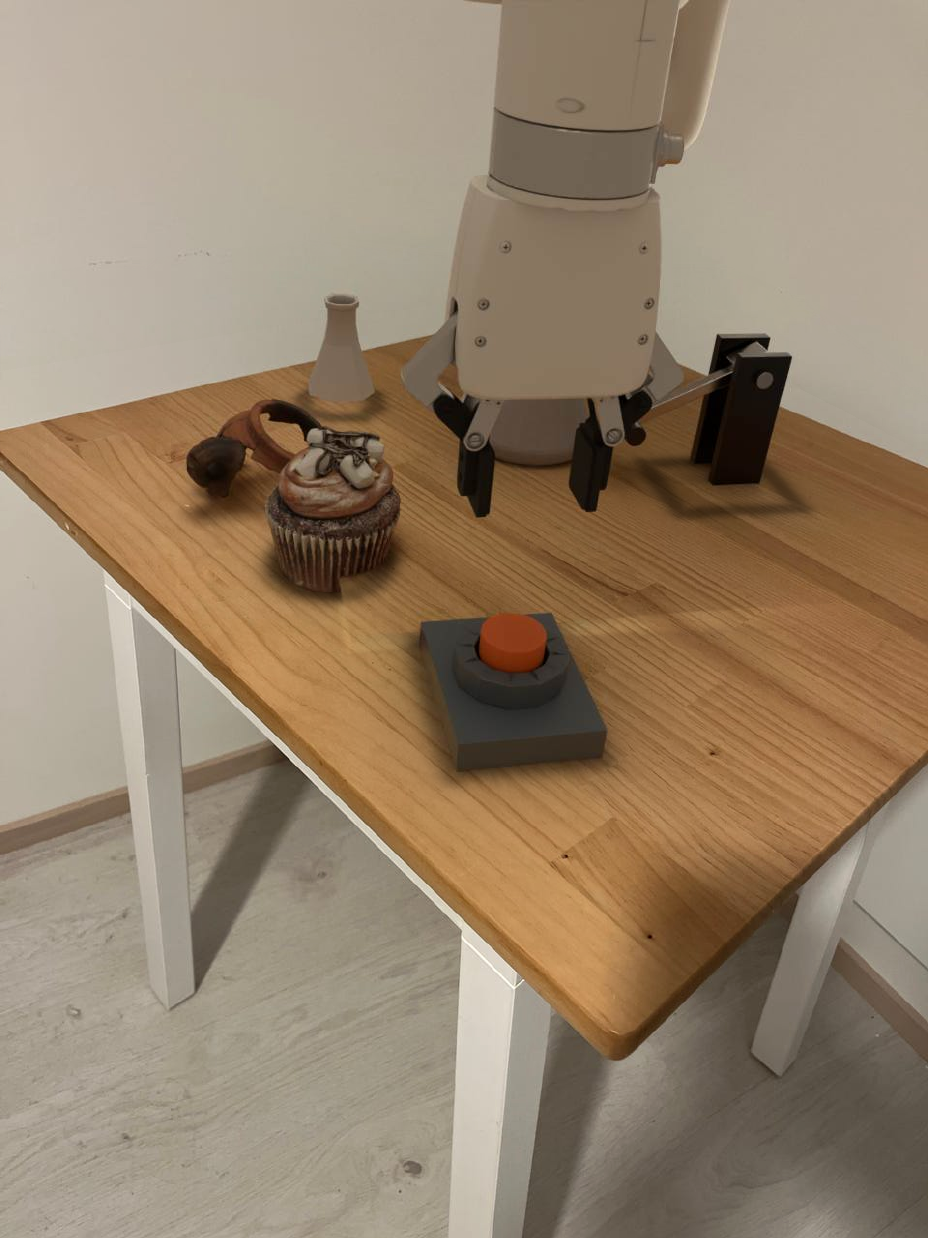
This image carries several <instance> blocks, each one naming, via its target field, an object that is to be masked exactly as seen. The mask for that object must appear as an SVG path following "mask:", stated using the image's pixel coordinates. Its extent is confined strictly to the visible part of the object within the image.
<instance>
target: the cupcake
mask: <svg viewBox="0 0 928 1238" xmlns="http://www.w3.org/2000/svg"><path fill="white" fill-rule="evenodd" d="M380 439H381V437H380V436H379V435H377V434H375V433H372V432H366V431H357V430H347V431H339V430H335V429H333V428H331V427H329V426H327V425H322V426H321V427H320V428H319V429H315V428H314V429H312V430H310V432H309V433H308V436H307V442H306V444H307V445H308V446H307V447H305V448H303V449H302V450H299V451H298V452H297V453H295V456H293V457H292V458H291V460H290V462H288V463H287V465H286V466H285V467H284V468H283V470H282V471H281V473H280V474H278V475H279V476H278V481H277V486H275V488H274V489H273V490H272V491H271V492H270V494H267V499H265V501H266V503H264V504H263V505H264V508H265V509H264V513H265V518H266V520H267V523H268V527H269V529H270V534H271V537H272V542H273V545H274V549H275V553H276V556H277V561H278V565H279V569H280V572H281V573H282V575H283V576H285V578H286V579H287V580H288V581H289V582H292V583H293V584H294V585H295V586H296V585H297V586H298V587H302V588H306V589H307V590H311V591H315V592H322V593H333V592H338V593H340V592H341V593H342V588H341V587H342V586H341V583H340V580H339V579H340V578H341V577H345V578H348V577H349V576H356V575H357V574H361V575H362V574H364V573H365V572H370V569H375V568H376V566H378V565H380V564H381V563H382V562H384V559H386V558H387V557H388V553H389V551H390V550H389V549H390V546H391V543H392V540H393V535H394V533H395V531H396V528H397V526H398V524H399V523H398V522H399V521H400V517H401V503H402V499H401V496H400V493H399V491H398V490H397V489H396V487H395V485H394V483H393V481H394V470H393V468H392V466H391V465H390V464H389V463H388V462H387V461H386V460H385V458H383V456H384V452H385V445H384V444H383V443H382V442H381V441H380Z"/></svg>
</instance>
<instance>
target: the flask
mask: <svg viewBox="0 0 928 1238" xmlns="http://www.w3.org/2000/svg"><path fill="white" fill-rule="evenodd" d="M323 301H324V306H325V308H326V309H327V315H326V316H327V318H326V319H327V321H326V325H325V330H324V336H323V340H322V343H321V346H320V349H319V351H318V355H317V357H316V360H315V364H314V366H313V369H312V372H311V374H310V377H309V380H308V383H307V389H308V394H309V396H311V397H314V398H317V399H321V400H325V401H329V402H331V403H360V402H363V401H365V400H366V399H367V398H369V397H370V396H372V395H373V394H375V393H376V391H375V388H374V385H373V380H372V378H371V376H370V372H369V369H368V367H367V364H366V361H365V357H364V354H363V351H362V348H361V345H360V341H359V334H358V328H357V309H359V306H360V299H359V296H358V295H353V294H350V293H349V294H348V293H330V294H328V295H326V296H324V297H323Z"/></svg>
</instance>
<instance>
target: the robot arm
mask: <svg viewBox="0 0 928 1238" xmlns="http://www.w3.org/2000/svg"><path fill="white" fill-rule="evenodd" d="M464 1H465V2H469V3H470V2H471V3H479V4H480V3H481V4H491V5H501V8H500V23H499V34H498V35H499V36H498V47H497V48H498V49H497V60H496V72H495V73H496V75H495V84H494V85H495V87H494V96H493V97H494V98H493V108H492V122H491V134H490V146H489V147H490V148H489V161H488V173H487V174H483V175H482V174H481V175H475V176H474V177H472V178H470V181H469V184H468V187H467V191H466V193H465V197H464V202H463V205H462V208H461V209H462V210H461V215H460V218H459V223H458V229H457V234H456V240H455V244H454V249H453V256H452V263H451V269H450V275H449V282H448V283H449V284H448V291H447V298H446V305H445V312H444V313H445V314H444V323H443V324H442V326H441V327H439V329H437V331H436V332H435V333H434V334H433V335H432V336H431V337H430V338H429V339H428V340H427V342H425V344H424V345H423V346H422V347H421V348H420V349H419V350H418V351H417V352H416V353H415V354H414V355H413V356H412V357H411V358H410V360H409V361H408V362H407V363H406V364H405V365H403V367H402V368H401V370H400V373H399V377H400V380H401V383H402V385H403V388H404V390H405V391H406V392H408V393H409V394H410V395H411V396H412V397H413V398H414V399H416V400H417V401H418V402H419V403H421V404H422V405H423V406H424V407H425V408H426V409H428V410H430V411H431V412H432V413H433V414H435V416H436V418H437V419H438V420H439V421H440V422H442V423H443V424H444V425H445V427H446V428H447V429H448V430H450V432H452V433H453V434H454V435H455V436H456V437H457V439H459V446H458V458H457V460H458V461H457V473H456V486H457V491H458V494H459V496H460V497H467V500H468V503H469V505H470V507H471V509H472V511H473V514H474V516H475V518H486V517H487V515H490V513H491V505H492V496H493V485H494V474H495V464H496V458H495V452H494V450H493V448H492V446H491V444H490V434H491V432H492V429H493V427H494V425H495V423H496V421H497V418H498V416H499V414H500V412H501V409H502V407H503V405H504V403H505V400H530V399H570V398H584V401H585V406H586V411H587V416H588V418H587V419H586V420H585V423H580V425H579V428H577V429H576V435H575V441H574V448H573V455H572V460H571V462H570V470H569V475H568V488H569V490H570V492H571V493H572V495H573V497H574V499H575V500H576V501H577V503H578V506H579V507H580V509H581V510H582V511H584V512H585V513H596V512H597V510H598V505H599V498H600V491H605V490H606V489H607V486H608V483H609V482H608V481H609V475H610V470H611V465H612V457H613V452H614V447H617V446H619V445H621V443H623V441H624V440H625V439H624V436H625V431H627V430H628V429H629V428H630V427H631V426H632V425H634V424H635V423H636V422H637V421H638V420H639V419H641V418H642V417H643V416H644V415H645V414H646V413H648V412H649V410H650V409H651V407H652V404H653V403H655V402H656V401H657V402H658V401H660V400H661V399H662V398H664V397H665V396H666V395H667V394H669V393H670V392H672V391H675V390H676V389H678V387H679V386H681V385H682V384H683V382H684V380H685V372H684V371H683V369H682V367H681V366H680V365H679V363H678V362H677V360H676V359H675V357H674V356H673V355H672V353H671V351H670V350H669V349H668V347H667V346H666V344H665V343H664V342H663V340H662V338H661V337H660V335H659V333H658V332H657V331H656V330H657V322H658V314H659V304H660V294H661V277H662V251H663V250H662V248H663V245H662V244H663V243H662V241H663V239H662V235H663V233H662V231H663V229H662V205H661V204H662V203H661V195H660V194H659V193H658V192H657V191H656V190H655V189H654V188H653V187H652V186H651V185H654V184H655V183H656V178H657V172H658V170H659V168H663V167H665V166H666V165H678V164H680V163H681V161H682V160H683V157H684V154H685V153H684V152H685V150H686V149H688V148H689V147H690V146H692V145H693V143H695V141H696V139H697V138H698V136H699V134H700V132H701V129H702V127H703V124H704V120H705V118H706V114H707V109H708V106H709V101H710V96H711V93H712V88H713V84H714V78H715V74H716V69H717V64H718V60H719V56H720V55H719V54H720V50H721V45H722V41H723V35H724V31H725V28H726V27H725V26H726V22H727V17H728V11H729V8H730V3H731V0H464ZM450 365H451V366H452V367H455V368H457V380H458V386H459V389H460V390H461V391H462V392H463V393H462V396H461V399H460V398H459V397H458V396H456V394H455V393H454V392H453V391H452V390H451V389H450V388H448V387H446V386H444V385H443V384H442V383H441V382H440V381H439V377H440V376H441V374H443V373H444V371H446V370H447V368H448V367H449V366H450Z"/></svg>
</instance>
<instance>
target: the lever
mask: <svg viewBox="0 0 928 1238" xmlns="http://www.w3.org/2000/svg"><path fill="white" fill-rule="evenodd" d="M766 352H769V350H768V351H767V350H765V349H764V348H763V347H762V346H761V345H760V344H759V343H758V342H755V343H752V344H750V345H748V346H746V347H744V348H741V349H739V350H737V351H735V352H733V353H730V354H728V355H726V360H727V365H728V367H726V368H723V369H721V370H719V371H717V372H715V373H712V374H710V375H708V374H707V375H706V376H703V377H701V378H699V379H697V380H694V381H692V382H690V383H688V384H686V385H684V386H682V387H679V388H676V389H674V390H673V391H671V392H670V393H669V394H667V395H666V396H665V397H664V398H662V399H661V400H660V401H658V402H657V401H656V402H655V403H653V404H652V407H651V409H650V410H649V412H648V413H646V414H645V415H644V416H643V417H642V418H641V419H639V420H638V421H637V422H636V423H635V424H634V425H632V426H631V427H630V428H629V429H628V430H627V431H625V436H624V439H623V440H625V442H626V443H627V444H628V445H629V446H631V447H636V446H640V445H641V444H643V443H644V442H645V440H646V438H647V431H646V430H645V428H644V427H643V426H642V424H645V423H647V422H649V421H651V420H653V419H655V418H657V417H660V416H662V415H664V414H666V413H669V412H671V411H673V410H675V409H678V408H680V407H682V406H685V405H686V404H689V403H691V402H693V401H696V400H697V399H700V398H703V397H704V395H706V394H709V393H711V392H713V391H715V390H718V389H720V388H722V387H724V386H726V385H729V384H730V382H731V378H732V373H733V369H734V364H735V360H736V356H737V353H766Z"/></svg>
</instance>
